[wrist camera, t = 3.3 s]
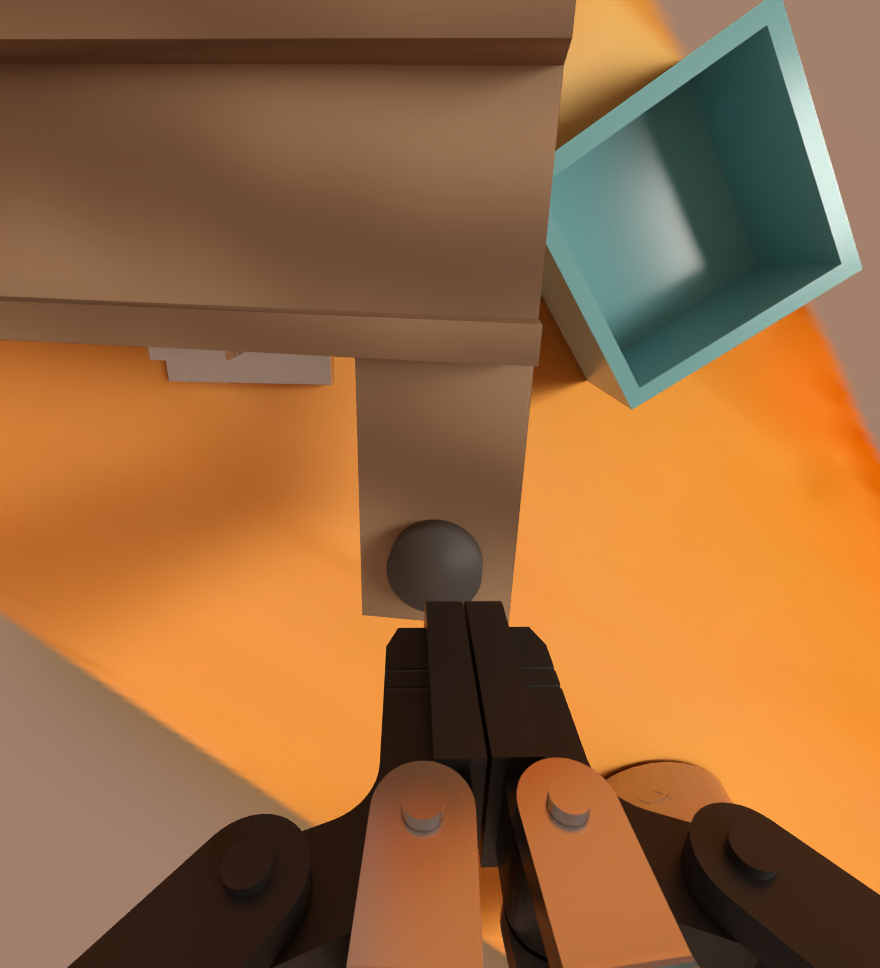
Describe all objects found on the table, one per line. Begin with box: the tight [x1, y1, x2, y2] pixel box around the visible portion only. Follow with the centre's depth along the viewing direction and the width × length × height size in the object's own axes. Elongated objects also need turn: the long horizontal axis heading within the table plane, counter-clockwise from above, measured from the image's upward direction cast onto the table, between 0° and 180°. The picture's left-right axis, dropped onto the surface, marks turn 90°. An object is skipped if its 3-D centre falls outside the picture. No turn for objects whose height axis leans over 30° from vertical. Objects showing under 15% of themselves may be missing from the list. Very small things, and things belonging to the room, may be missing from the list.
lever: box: [0, 0, 576, 622], centre depth 13 cm, size 13×19×3 cm
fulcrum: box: [148, 347, 334, 385], centre depth 14 cm, size 11×6×8 cm, turn 178°
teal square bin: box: [541, 0, 863, 409], centre depth 17 cm, size 8×8×5 cm
